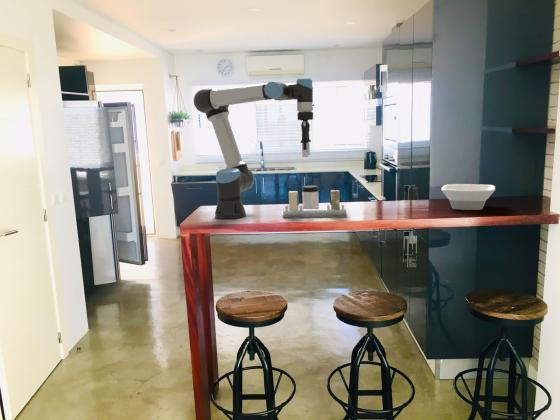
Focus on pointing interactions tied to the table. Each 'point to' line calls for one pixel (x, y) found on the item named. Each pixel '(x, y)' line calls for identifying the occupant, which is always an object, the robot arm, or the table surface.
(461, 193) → the bowl
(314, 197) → the jar
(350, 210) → the table surface
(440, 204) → the table surface
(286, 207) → the rail
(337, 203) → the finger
